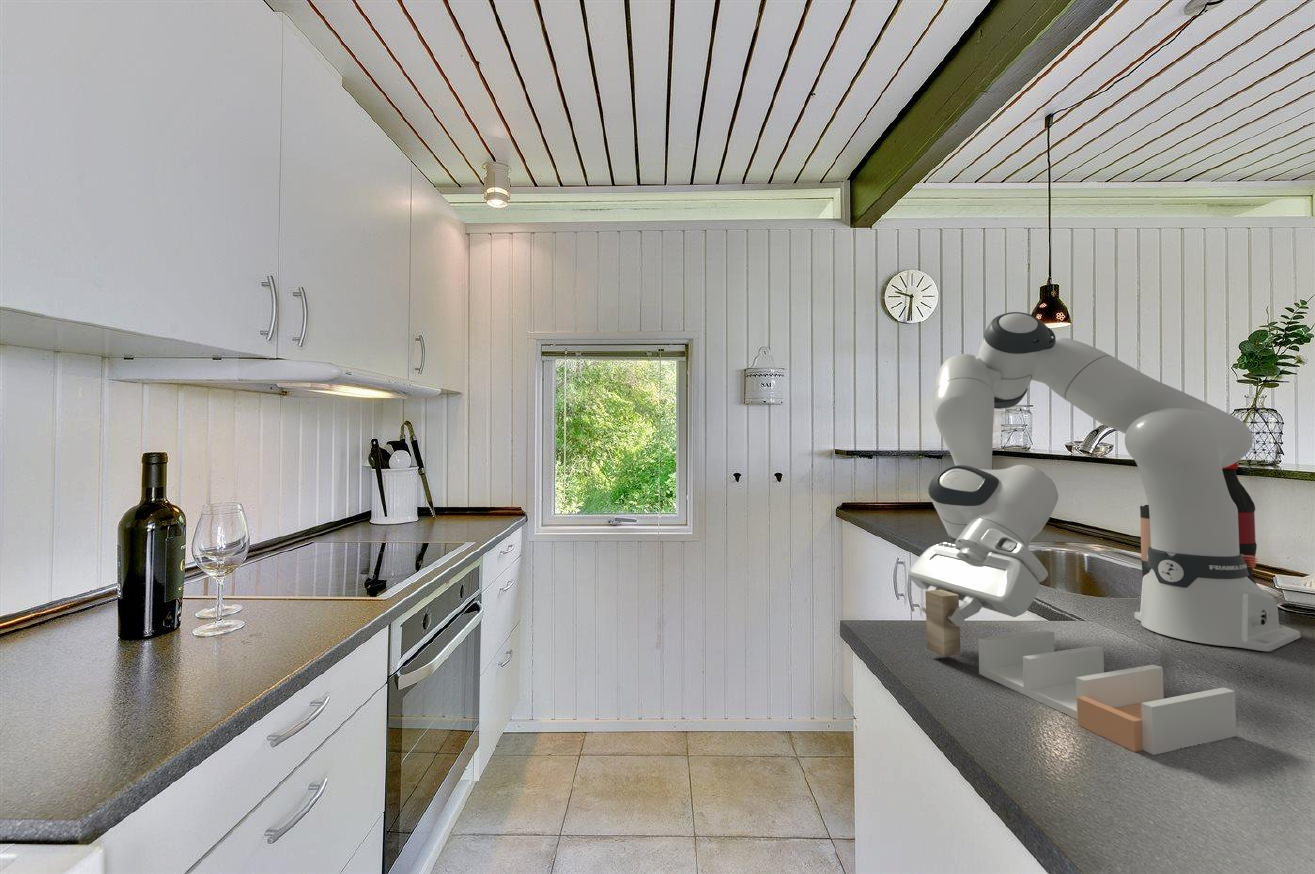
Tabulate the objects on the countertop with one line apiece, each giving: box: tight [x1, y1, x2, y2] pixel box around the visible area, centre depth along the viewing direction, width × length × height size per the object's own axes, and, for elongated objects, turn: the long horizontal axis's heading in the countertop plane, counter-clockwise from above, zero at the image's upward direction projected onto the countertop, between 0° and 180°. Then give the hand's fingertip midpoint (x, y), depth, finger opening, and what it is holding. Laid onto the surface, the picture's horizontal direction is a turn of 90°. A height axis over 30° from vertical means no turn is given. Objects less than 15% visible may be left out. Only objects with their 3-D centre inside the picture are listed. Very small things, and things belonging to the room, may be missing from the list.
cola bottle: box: [1222, 461, 1258, 586], centre depth 112 cm, size 8×8×30 cm
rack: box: [977, 629, 1238, 756], centre depth 70 cm, size 14×22×5 cm, turn 16°
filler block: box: [924, 590, 961, 657], centre depth 85 cm, size 3×4×9 cm
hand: (939, 617), depth 85 cm, fingers closed on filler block, 3 cm apart
